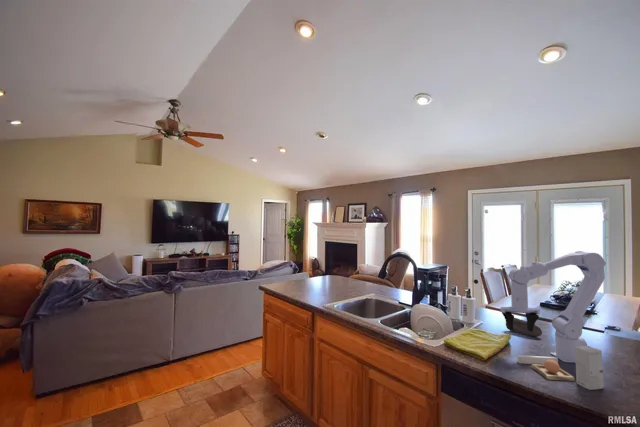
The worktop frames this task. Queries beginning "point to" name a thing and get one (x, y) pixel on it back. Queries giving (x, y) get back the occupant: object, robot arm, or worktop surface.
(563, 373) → the tray
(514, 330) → the perforated stone tool
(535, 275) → the robot arm
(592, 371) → the skincare box
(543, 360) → the bar
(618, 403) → the worktop surface
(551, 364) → the ball
